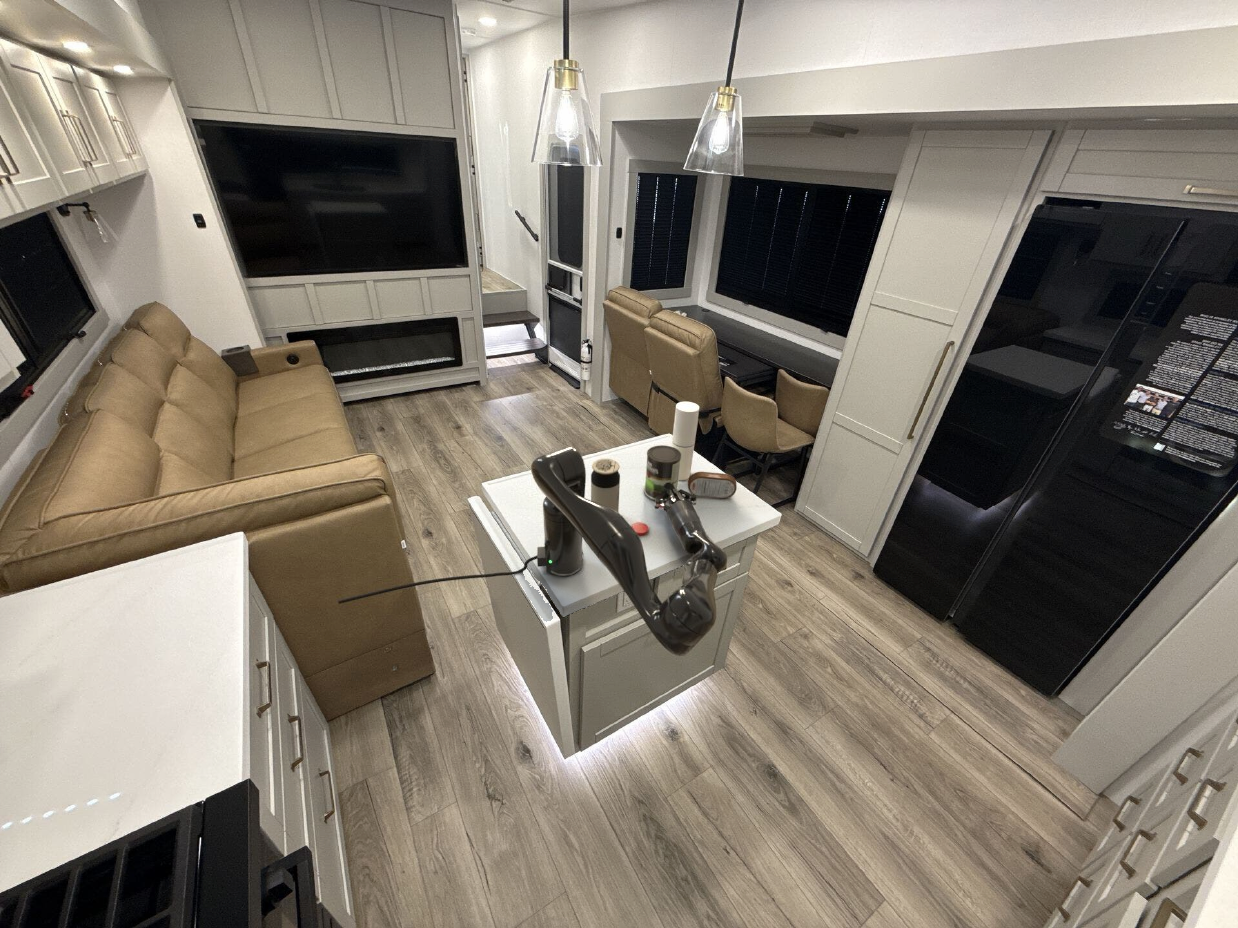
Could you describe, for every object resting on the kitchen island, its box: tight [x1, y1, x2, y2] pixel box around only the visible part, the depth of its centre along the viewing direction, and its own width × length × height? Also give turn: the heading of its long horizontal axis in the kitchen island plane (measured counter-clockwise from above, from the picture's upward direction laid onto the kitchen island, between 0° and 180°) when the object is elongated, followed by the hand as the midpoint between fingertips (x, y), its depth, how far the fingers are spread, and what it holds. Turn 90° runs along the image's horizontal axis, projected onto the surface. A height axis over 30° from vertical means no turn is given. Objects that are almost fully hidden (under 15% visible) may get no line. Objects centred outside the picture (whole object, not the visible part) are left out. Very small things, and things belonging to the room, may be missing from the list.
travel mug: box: [590, 458, 621, 513], centre depth 136 cm, size 8×8×18 cm
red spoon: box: [631, 522, 649, 536], centre depth 134 cm, size 16×5×1 cm, turn 117°
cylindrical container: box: [671, 401, 700, 481], centre depth 154 cm, size 7×7×25 cm
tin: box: [687, 471, 738, 500], centre depth 149 cm, size 15×3×8 cm, turn 84°
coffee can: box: [644, 444, 681, 502], centre depth 148 cm, size 10×10×14 cm
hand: (667, 484), depth 145 cm, fingers closed
